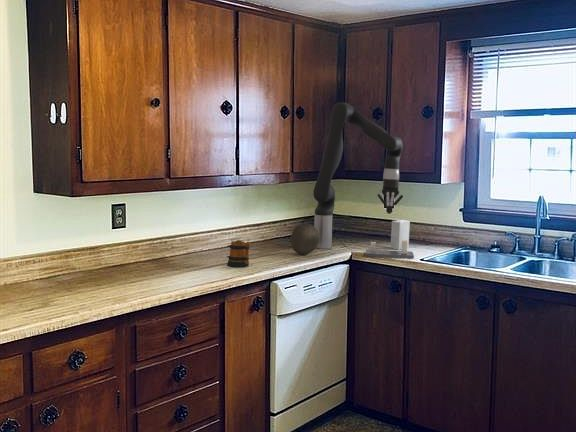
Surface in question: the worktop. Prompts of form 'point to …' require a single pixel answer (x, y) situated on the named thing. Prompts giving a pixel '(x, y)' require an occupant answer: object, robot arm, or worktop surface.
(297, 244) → the cantaloupe
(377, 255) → the console
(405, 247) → the fader
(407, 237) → the skincare box
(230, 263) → the mug
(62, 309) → the worktop surface
